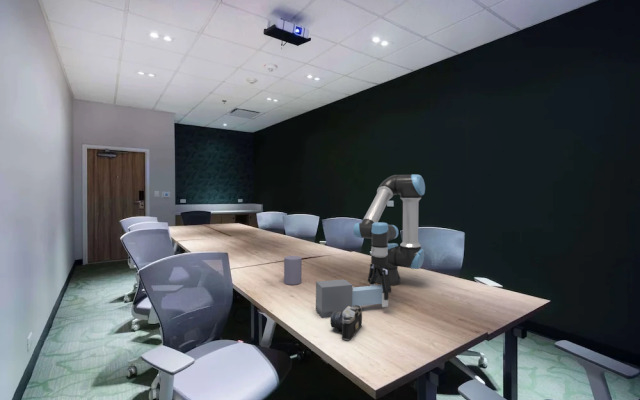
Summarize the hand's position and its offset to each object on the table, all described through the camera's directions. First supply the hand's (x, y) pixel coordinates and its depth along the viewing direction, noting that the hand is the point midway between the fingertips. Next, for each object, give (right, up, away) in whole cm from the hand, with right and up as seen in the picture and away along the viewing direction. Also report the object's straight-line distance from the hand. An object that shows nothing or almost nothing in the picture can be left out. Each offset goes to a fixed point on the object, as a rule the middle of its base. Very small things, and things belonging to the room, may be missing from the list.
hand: (378, 301), depth 143 cm
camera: (-18, -3, -25) cm, 30 cm away
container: (-44, -1, +38) cm, 58 cm away
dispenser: (-21, -2, -7) cm, 23 cm away
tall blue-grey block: (-6, 0, -2) cm, 6 cm away
